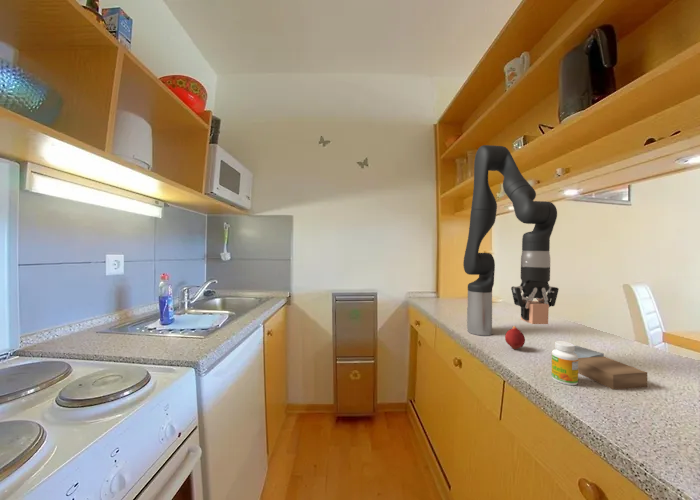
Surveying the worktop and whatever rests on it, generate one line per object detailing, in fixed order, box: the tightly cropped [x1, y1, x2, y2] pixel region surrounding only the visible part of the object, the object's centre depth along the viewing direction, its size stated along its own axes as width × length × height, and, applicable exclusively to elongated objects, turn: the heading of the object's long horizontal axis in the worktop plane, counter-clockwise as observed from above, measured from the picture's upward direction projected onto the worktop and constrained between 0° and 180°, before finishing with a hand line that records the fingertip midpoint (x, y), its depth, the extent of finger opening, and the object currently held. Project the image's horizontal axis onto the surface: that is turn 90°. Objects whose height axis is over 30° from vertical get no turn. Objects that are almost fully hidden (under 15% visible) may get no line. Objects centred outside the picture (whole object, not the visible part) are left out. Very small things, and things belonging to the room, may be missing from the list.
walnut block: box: [578, 356, 648, 390], centre depth 70 cm, size 10×10×4 cm
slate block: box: [573, 345, 605, 358], centre depth 80 cm, size 7×7×4 cm
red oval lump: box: [504, 325, 526, 350], centre depth 91 cm, size 6×6×8 cm
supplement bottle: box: [551, 340, 579, 386], centre depth 69 cm, size 5×5×10 cm
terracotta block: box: [520, 300, 550, 325], centre depth 82 cm, size 5×5×6 cm
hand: (534, 319), depth 82 cm, fingers closed on terracotta block, 5 cm apart
